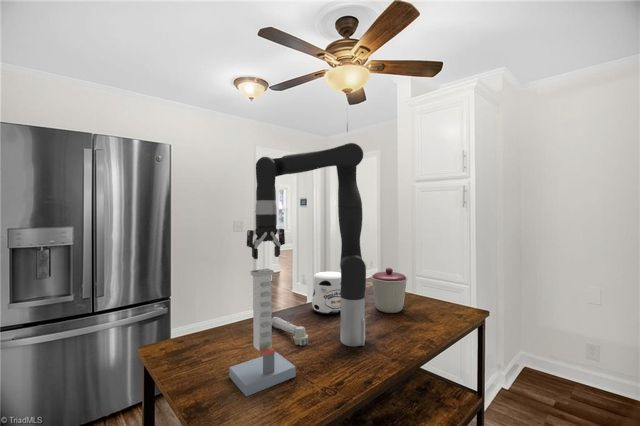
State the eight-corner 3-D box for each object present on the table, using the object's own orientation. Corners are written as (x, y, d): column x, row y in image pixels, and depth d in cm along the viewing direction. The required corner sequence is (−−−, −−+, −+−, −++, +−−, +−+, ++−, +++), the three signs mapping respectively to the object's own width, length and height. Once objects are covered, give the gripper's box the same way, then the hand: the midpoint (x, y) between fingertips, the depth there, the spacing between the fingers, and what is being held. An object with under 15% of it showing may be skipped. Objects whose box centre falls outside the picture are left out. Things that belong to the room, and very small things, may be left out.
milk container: (336, 319, 139) (336, 280, 138) (304, 312, 148) (304, 276, 147) (352, 309, 153) (352, 273, 153) (323, 303, 162) (323, 269, 162)
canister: (370, 303, 162) (370, 264, 162) (405, 304, 160) (405, 264, 160) (371, 315, 144) (371, 271, 144) (410, 317, 142) (410, 272, 142)
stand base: (276, 360, 102) (275, 332, 101) (295, 376, 92) (295, 345, 92) (229, 377, 92) (229, 345, 92) (246, 396, 82) (245, 361, 82)
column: (267, 342, 95) (267, 268, 95) (275, 347, 91) (275, 271, 91) (251, 347, 92) (250, 270, 91) (258, 353, 88) (257, 273, 87)
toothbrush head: (278, 314, 134) (309, 324, 114) (280, 330, 134) (311, 343, 114) (268, 317, 131) (298, 328, 111) (269, 333, 131) (299, 347, 110)
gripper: (252, 213, 103) (252, 261, 103) (288, 213, 111) (288, 257, 112) (243, 213, 109) (243, 258, 109) (278, 212, 117) (278, 254, 117)
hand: (266, 257), depth 110 cm, fingers open, 8 cm apart
